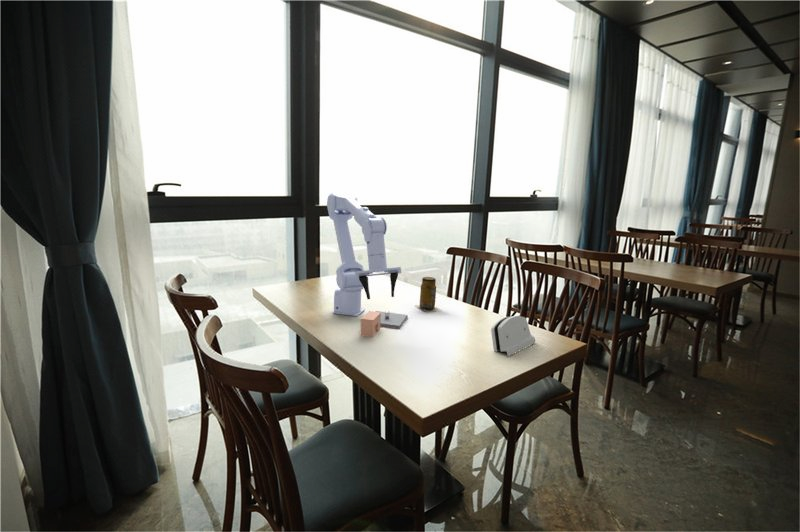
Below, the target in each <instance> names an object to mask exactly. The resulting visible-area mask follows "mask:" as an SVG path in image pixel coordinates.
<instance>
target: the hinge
mask: <svg viewBox="0 0 800 532" xmlns="http://www.w3.org/2000/svg"><path fill="white" fill-rule="evenodd" d="M490 332H491V338H492V346H493V348H492V349H493V352H495V351H496V352H499V351H500V352H502V353H503V352H506V354H507V356H508V355H511V354H513V353H515V352H517V351H519V350H521V351H523V350H524V349H523V348H525V347H527V346H529V345H531V344H533V343H535V342H536V338H535V336H534V335H532V334H531V330H530V327H529V324H528V321H527V318H526V317H525V316H520V315H513V316H512V315H511V316H506V317H503V318H501V319H498V320H497V321H496V322H495V323H494V324H493V325H492V326H491V328H490ZM535 344H536V343H535ZM533 345H534V344H533ZM531 346H532V345H531ZM529 347H530V346H529ZM527 348H528V347H527ZM522 349H523V350H522ZM525 349H526V348H525ZM519 352H520V351H519ZM517 353H518V352H517ZM515 354H516V353H515ZM513 355H514V354H513ZM511 356H512V355H511Z"/></svg>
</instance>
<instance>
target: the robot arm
mask: <svg viewBox="0 0 800 532" xmlns="http://www.w3.org/2000/svg"><path fill="white" fill-rule="evenodd" d="M326 208H327V212H328V216H329V219H330V220H332V222H333V226H334V230H335V235H336V240H337V245H338V250H339V256H340V260H341V264H340V265H339V266H338V267H336V268H337V269H336V271H335V274H336V285H337V286H338V287H336V288H335V290H334V296H333V312H332V314H338V315H346V316H354V317H358V316H359V315H360V314H362V313H363V312H364V311H365V308H362V290H364V293H365V296H366V299H367V300H371V293H370V287H369V277H373V276H384V275H386V276H387V275H389V278H390V289H391V292H390V293H391V297H392V298H395V287H396V283H397V279H398V276H399V274H402V267H401V266H398V267H387V256H386V255H387V254H386V244H385V235H386V233H387V228H388V227H387V225H388V224H387V222H386V220H385V218H384V217H377V216H376V215H375V214H374V213H373V212H371V210H369V207H367V206H361V204H359V202H358V197H357V196H356V194H354V193H352V194H350V193H349V194H346V193H329V195H328V197H327V201H326ZM351 219H354V221H355V222H356V223H357V224H358V225H359V226H360V228H361V232H362V234H363V237H364V238H363V239H364V241H365V243H366V252H367V253H366V254H367V263H368V269H367V270H366V269H364V267H363V265H362V263H359V262H358V261H356V257H355V251H354V248H353V247H354V246H353V242H352V238H351V234H350V233H351V232H350V229H349V224H348V221H349V220H351ZM379 272H381V273H379ZM382 272H383V273H382Z"/></svg>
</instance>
